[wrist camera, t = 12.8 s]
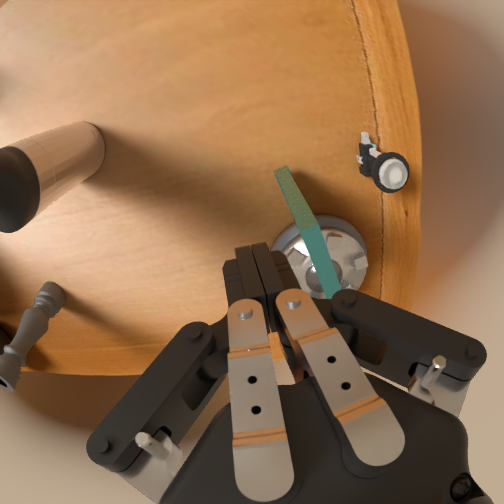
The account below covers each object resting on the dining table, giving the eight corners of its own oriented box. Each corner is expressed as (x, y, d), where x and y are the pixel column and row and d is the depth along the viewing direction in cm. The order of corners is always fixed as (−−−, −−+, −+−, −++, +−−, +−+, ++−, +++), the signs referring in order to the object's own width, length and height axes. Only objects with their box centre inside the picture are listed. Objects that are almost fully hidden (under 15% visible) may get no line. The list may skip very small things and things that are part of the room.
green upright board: (369, 283, 49) (411, 362, 33) (293, 313, 52) (310, 401, 36) (329, 148, 37) (392, 193, 21) (230, 189, 40) (223, 262, 24)
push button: (346, 133, 38) (374, 146, 30) (377, 129, 38) (411, 142, 29) (351, 175, 42) (378, 198, 33) (381, 170, 41) (413, 192, 33)
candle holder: (52, 277, 49) (-8, 367, 28) (70, 299, 52) (20, 392, 31) (39, 287, 51) (-17, 371, 29) (56, 307, 54) (8, 394, 32)
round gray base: (278, 307, 54) (279, 314, 53) (258, 227, 46) (258, 233, 44) (364, 286, 53) (367, 293, 51) (361, 205, 44) (365, 209, 42)
